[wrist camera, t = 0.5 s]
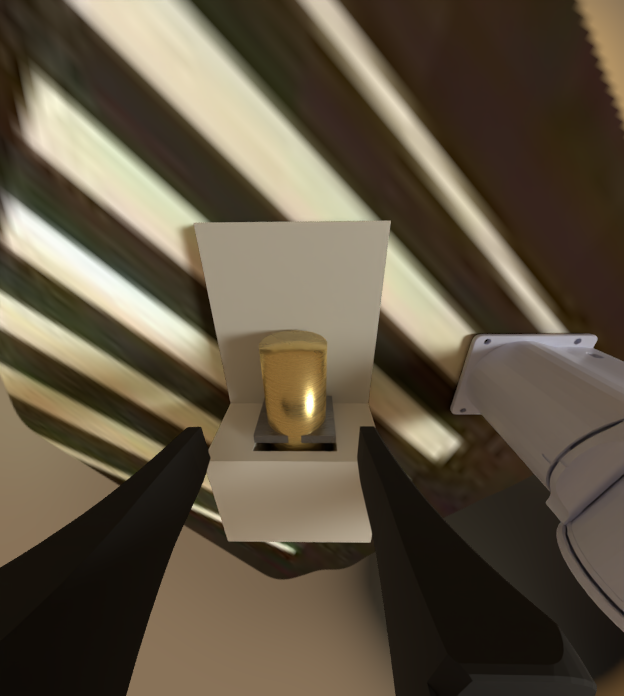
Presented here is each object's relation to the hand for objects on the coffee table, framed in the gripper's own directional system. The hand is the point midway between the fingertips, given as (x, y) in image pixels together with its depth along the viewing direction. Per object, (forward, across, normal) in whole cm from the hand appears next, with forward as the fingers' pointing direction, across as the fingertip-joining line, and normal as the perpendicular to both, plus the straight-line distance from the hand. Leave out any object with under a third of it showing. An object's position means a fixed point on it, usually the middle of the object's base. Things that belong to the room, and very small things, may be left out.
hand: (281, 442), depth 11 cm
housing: (+10, 0, +3) cm, 10 cm away
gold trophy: (+8, 0, +5) cm, 10 cm away
